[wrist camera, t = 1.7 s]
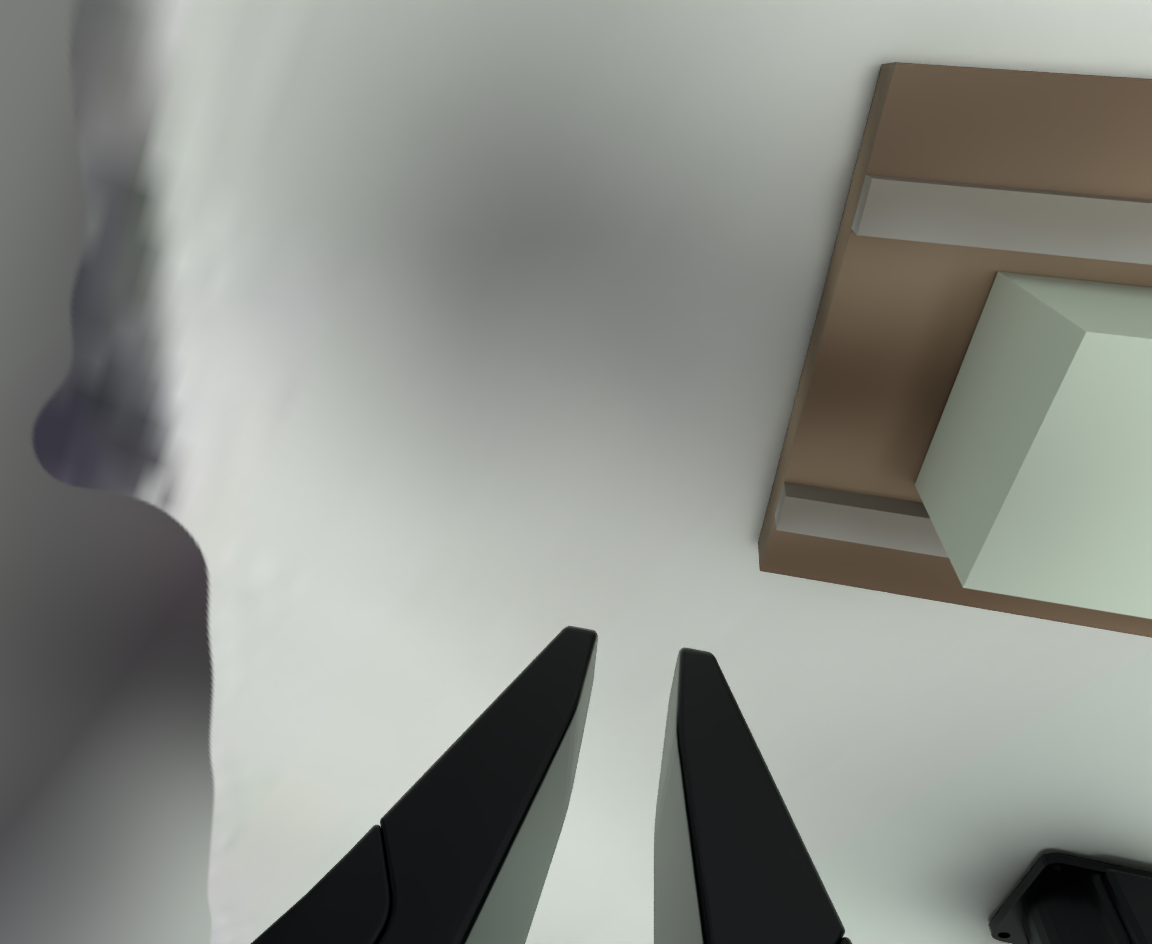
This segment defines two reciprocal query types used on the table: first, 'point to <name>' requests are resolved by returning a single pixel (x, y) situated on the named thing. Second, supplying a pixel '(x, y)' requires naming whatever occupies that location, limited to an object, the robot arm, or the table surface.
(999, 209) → the track
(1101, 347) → the block
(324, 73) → the table surface
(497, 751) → the robot arm
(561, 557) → the table surface
